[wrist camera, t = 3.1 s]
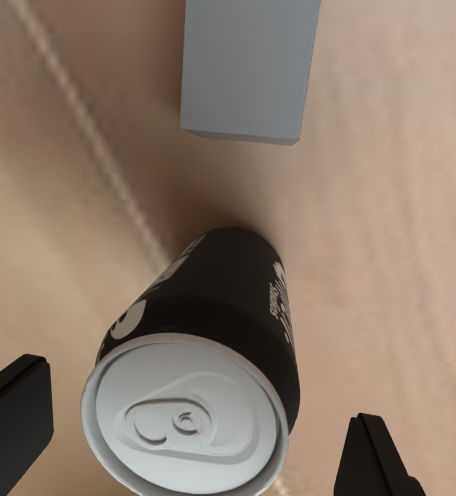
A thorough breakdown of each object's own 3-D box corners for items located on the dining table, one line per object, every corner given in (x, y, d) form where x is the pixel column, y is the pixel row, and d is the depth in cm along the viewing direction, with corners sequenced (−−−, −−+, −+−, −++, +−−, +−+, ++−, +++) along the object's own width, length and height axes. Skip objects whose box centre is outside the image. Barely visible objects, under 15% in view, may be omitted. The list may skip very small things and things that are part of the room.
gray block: (306, 44, 16) (321, -7, 11) (291, 145, 17) (299, 139, 12) (211, 38, 16) (186, -14, 12) (204, 137, 18) (179, 128, 13)
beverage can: (294, 311, 20) (329, 517, 8) (199, 329, 21) (115, 529, 10) (270, 212, 18) (271, 298, 7) (169, 238, 20) (26, 347, 8)
